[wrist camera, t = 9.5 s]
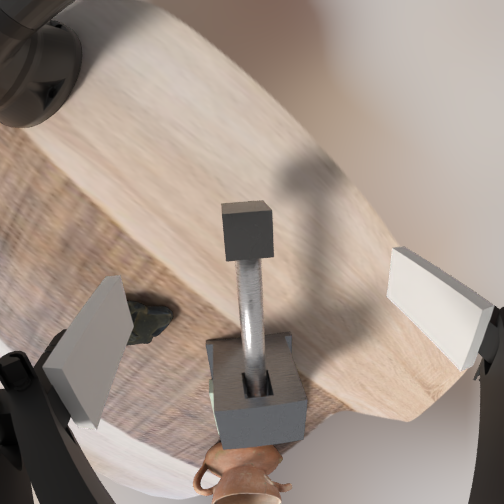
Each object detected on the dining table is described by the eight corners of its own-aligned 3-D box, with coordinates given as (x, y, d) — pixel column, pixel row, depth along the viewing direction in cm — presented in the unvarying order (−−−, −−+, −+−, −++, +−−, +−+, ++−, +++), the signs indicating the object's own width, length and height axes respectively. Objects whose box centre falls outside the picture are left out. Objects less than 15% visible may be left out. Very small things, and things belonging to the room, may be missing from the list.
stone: (178, 333, 40) (175, 356, 35) (95, 338, 39) (84, 360, 34) (169, 290, 38) (163, 310, 33) (81, 298, 37) (67, 317, 32)
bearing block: (205, 340, 41) (204, 411, 28) (290, 331, 42) (316, 398, 29) (213, 380, 43) (215, 450, 31) (289, 372, 44) (311, 437, 32)
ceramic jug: (286, 426, 49) (301, 486, 36) (280, 462, 54) (290, 514, 40) (190, 429, 47) (186, 492, 34) (198, 465, 52) (197, 518, 38)
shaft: (221, 203, 28) (222, 214, 24) (263, 200, 29) (272, 210, 24) (241, 404, 37) (245, 432, 33) (270, 401, 38) (277, 428, 33)
